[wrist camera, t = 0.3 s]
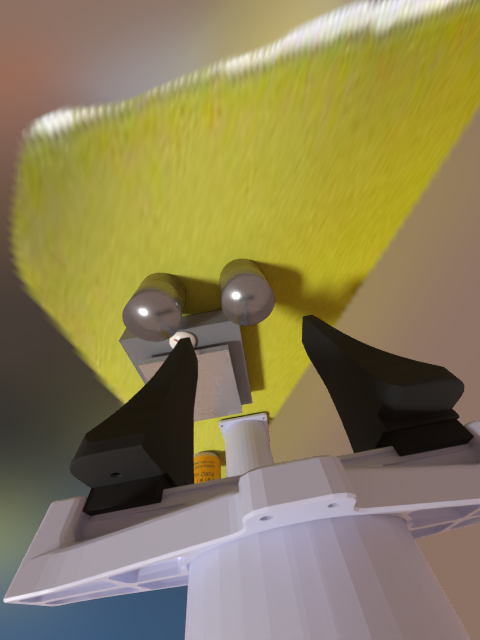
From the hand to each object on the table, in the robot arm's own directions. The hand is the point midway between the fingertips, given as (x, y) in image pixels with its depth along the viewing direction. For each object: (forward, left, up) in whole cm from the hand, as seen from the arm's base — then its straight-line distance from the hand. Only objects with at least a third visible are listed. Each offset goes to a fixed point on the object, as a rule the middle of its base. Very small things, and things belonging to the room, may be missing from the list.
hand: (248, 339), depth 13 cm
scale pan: (-11, +6, -6) cm, 14 cm away
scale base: (-10, +6, -10) cm, 15 cm away
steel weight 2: (0, -1, -10) cm, 10 cm away
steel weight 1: (0, +7, -10) cm, 12 cm away
